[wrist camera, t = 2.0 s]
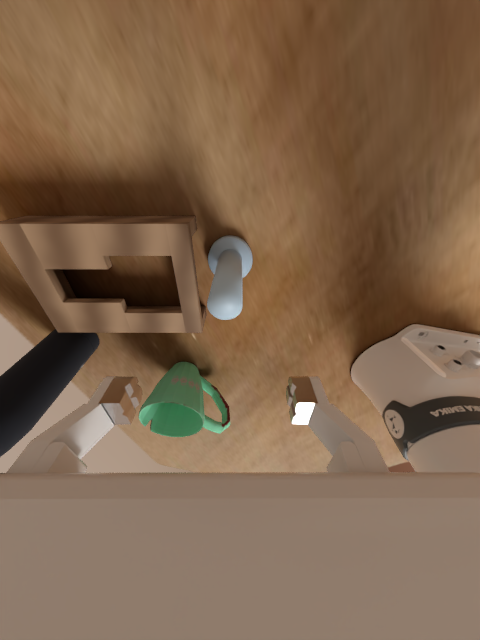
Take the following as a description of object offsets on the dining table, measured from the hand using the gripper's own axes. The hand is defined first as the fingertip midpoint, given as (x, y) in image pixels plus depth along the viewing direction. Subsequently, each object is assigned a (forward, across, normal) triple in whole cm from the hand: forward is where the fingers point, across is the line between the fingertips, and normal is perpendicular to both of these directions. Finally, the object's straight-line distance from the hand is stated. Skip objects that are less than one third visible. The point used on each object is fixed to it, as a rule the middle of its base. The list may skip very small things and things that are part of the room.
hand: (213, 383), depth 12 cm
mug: (+20, +7, +23) cm, 31 cm away
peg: (+20, 0, 0) cm, 20 cm away
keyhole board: (+20, +14, +2) cm, 24 cm away
